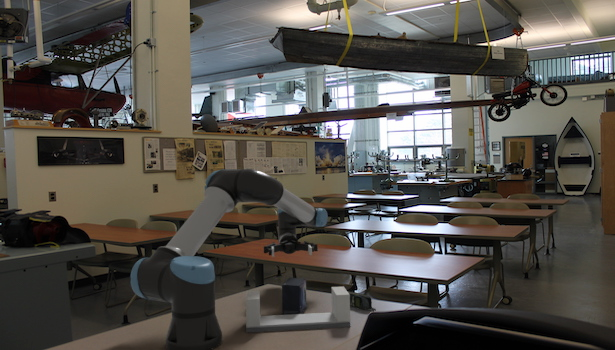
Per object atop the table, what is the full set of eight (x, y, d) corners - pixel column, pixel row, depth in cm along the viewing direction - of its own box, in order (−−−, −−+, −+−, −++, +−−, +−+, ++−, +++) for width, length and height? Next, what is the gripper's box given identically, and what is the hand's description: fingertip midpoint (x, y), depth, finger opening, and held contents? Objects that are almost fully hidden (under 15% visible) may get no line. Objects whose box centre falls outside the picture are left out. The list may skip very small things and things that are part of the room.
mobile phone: (337, 290, 159) (371, 297, 148) (342, 289, 161) (376, 295, 150) (337, 305, 159) (371, 312, 148) (343, 303, 161) (377, 310, 150)
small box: (300, 317, 145) (300, 285, 145) (281, 316, 146) (280, 284, 146) (307, 308, 155) (306, 277, 155) (289, 307, 156) (288, 277, 156)
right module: (337, 321, 134) (336, 295, 134) (332, 311, 144) (331, 287, 144) (350, 321, 134) (349, 294, 134) (344, 311, 144) (343, 286, 144)
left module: (246, 326, 131) (245, 299, 131) (247, 316, 141) (246, 291, 141) (260, 326, 132) (259, 298, 132) (260, 315, 142) (259, 290, 142)
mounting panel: (246, 332, 131) (246, 326, 131) (247, 321, 141) (247, 316, 141) (350, 326, 134) (350, 321, 134) (344, 316, 144) (344, 311, 144)
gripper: (319, 251, 183) (326, 261, 162) (258, 253, 180) (257, 264, 159) (319, 232, 183) (326, 240, 161) (257, 235, 180) (256, 243, 159)
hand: (292, 252), depth 160 cm, fingers open, 13 cm apart
